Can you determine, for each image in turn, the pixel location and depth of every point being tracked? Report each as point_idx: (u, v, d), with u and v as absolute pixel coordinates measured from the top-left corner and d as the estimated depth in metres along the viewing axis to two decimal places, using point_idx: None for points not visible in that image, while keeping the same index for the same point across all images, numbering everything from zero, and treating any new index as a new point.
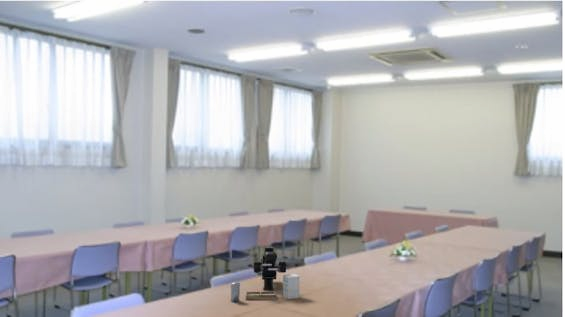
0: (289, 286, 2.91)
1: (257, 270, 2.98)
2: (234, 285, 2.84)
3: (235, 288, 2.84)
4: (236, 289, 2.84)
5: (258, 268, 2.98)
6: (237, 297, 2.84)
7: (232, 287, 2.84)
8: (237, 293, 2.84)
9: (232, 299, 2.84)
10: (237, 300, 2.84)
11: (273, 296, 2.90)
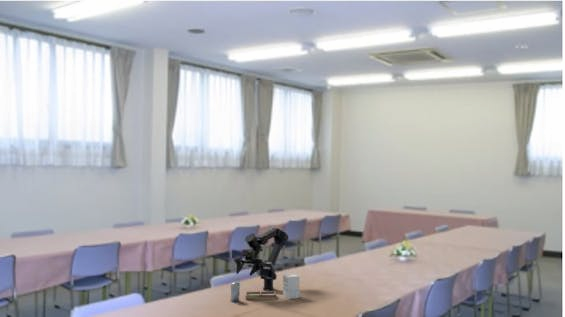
0: (289, 286, 2.91)
1: None
2: (234, 285, 2.84)
3: (235, 288, 2.84)
4: (236, 289, 2.84)
5: None
6: (237, 297, 2.84)
7: (232, 287, 2.84)
8: (237, 293, 2.84)
9: (232, 299, 2.84)
10: (237, 300, 2.84)
11: (273, 296, 2.90)
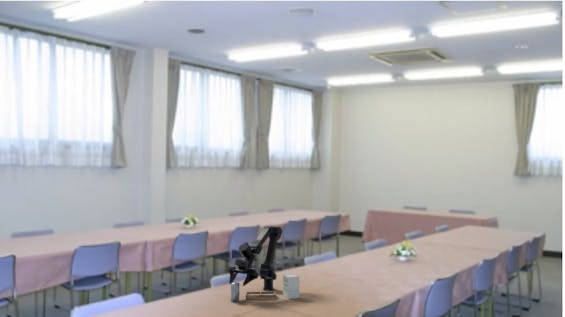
0: (289, 286, 2.91)
1: None
2: (234, 285, 2.84)
3: (235, 288, 2.84)
4: (236, 289, 2.84)
5: None
6: (237, 297, 2.84)
7: (232, 287, 2.84)
8: (237, 293, 2.84)
9: (232, 299, 2.84)
10: (237, 300, 2.84)
11: (273, 296, 2.90)
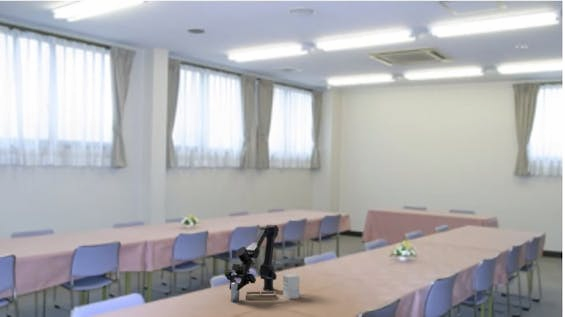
0: (289, 286, 2.91)
1: None
2: (234, 285, 2.84)
3: (235, 288, 2.84)
4: (236, 289, 2.84)
5: None
6: (237, 297, 2.84)
7: (232, 287, 2.84)
8: (237, 293, 2.84)
9: (232, 299, 2.84)
10: (237, 300, 2.84)
11: (273, 296, 2.90)
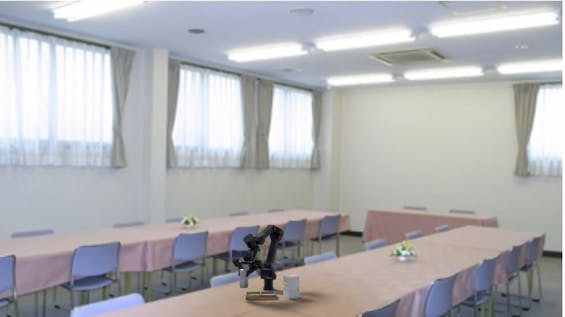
0: (289, 286, 2.91)
1: None
2: (243, 271, 2.88)
3: (244, 274, 2.87)
4: (245, 275, 2.88)
5: None
6: (246, 283, 2.88)
7: (241, 273, 2.88)
8: (246, 279, 2.88)
9: (241, 285, 2.88)
10: (246, 286, 2.88)
11: (273, 296, 2.90)
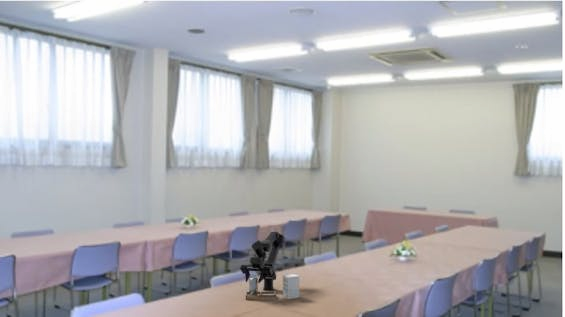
0: (289, 286, 2.91)
1: None
2: (253, 280, 2.92)
3: (254, 283, 2.92)
4: (255, 284, 2.92)
5: None
6: (256, 292, 2.93)
7: (251, 282, 2.92)
8: (256, 288, 2.93)
9: (251, 294, 2.92)
10: (256, 294, 2.92)
11: (273, 296, 2.90)
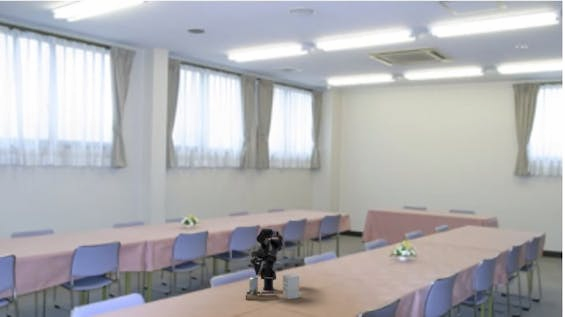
0: (289, 286, 2.91)
1: None
2: (253, 280, 2.92)
3: (254, 283, 2.92)
4: (255, 284, 2.92)
5: None
6: (256, 291, 2.93)
7: (251, 282, 2.92)
8: (256, 288, 2.93)
9: (251, 294, 2.92)
10: (256, 294, 2.92)
11: (273, 296, 2.90)
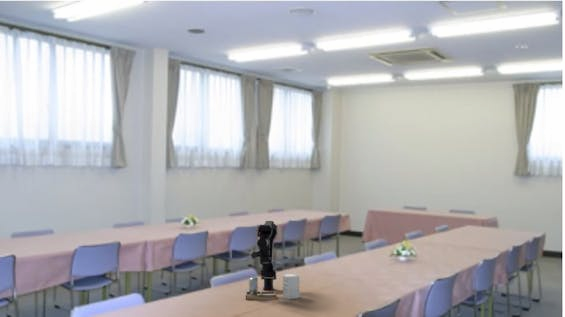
0: (289, 286, 2.91)
1: None
2: (253, 280, 2.92)
3: (254, 283, 2.92)
4: (255, 284, 2.92)
5: None
6: (256, 292, 2.93)
7: (251, 282, 2.92)
8: (256, 288, 2.92)
9: (251, 294, 2.92)
10: (256, 294, 2.93)
11: (273, 296, 2.90)
